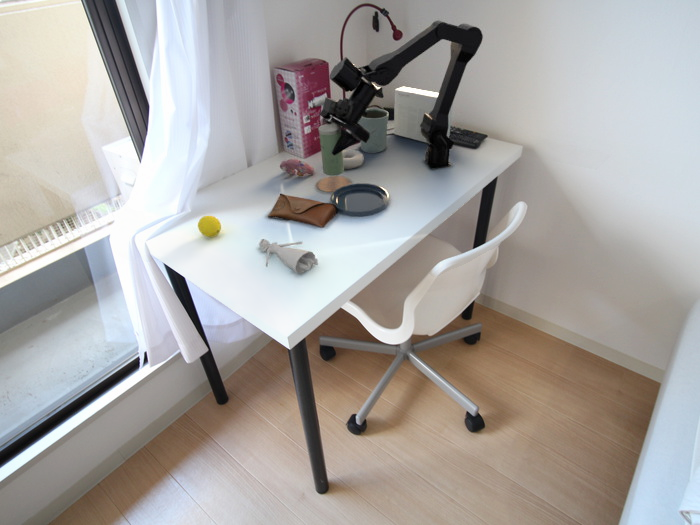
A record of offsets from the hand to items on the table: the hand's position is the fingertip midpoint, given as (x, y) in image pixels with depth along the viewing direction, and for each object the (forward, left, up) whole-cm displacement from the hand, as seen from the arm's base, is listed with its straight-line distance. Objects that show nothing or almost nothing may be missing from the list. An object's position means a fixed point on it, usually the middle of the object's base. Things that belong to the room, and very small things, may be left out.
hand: (327, 150), depth 121 cm
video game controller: (+9, -11, -12) cm, 19 cm away
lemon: (+34, +17, -12) cm, 39 cm away
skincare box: (-37, -27, -12) cm, 48 cm away
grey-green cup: (-19, -24, -12) cm, 33 cm away
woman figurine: (+16, +33, -12) cm, 38 cm away
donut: (-8, -14, -12) cm, 20 cm away
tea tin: (-1, 0, -7) cm, 7 cm away
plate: (-6, +12, -11) cm, 17 cm away
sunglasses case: (+10, +14, -12) cm, 21 cm away
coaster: (-1, -1, -11) cm, 12 cm away
